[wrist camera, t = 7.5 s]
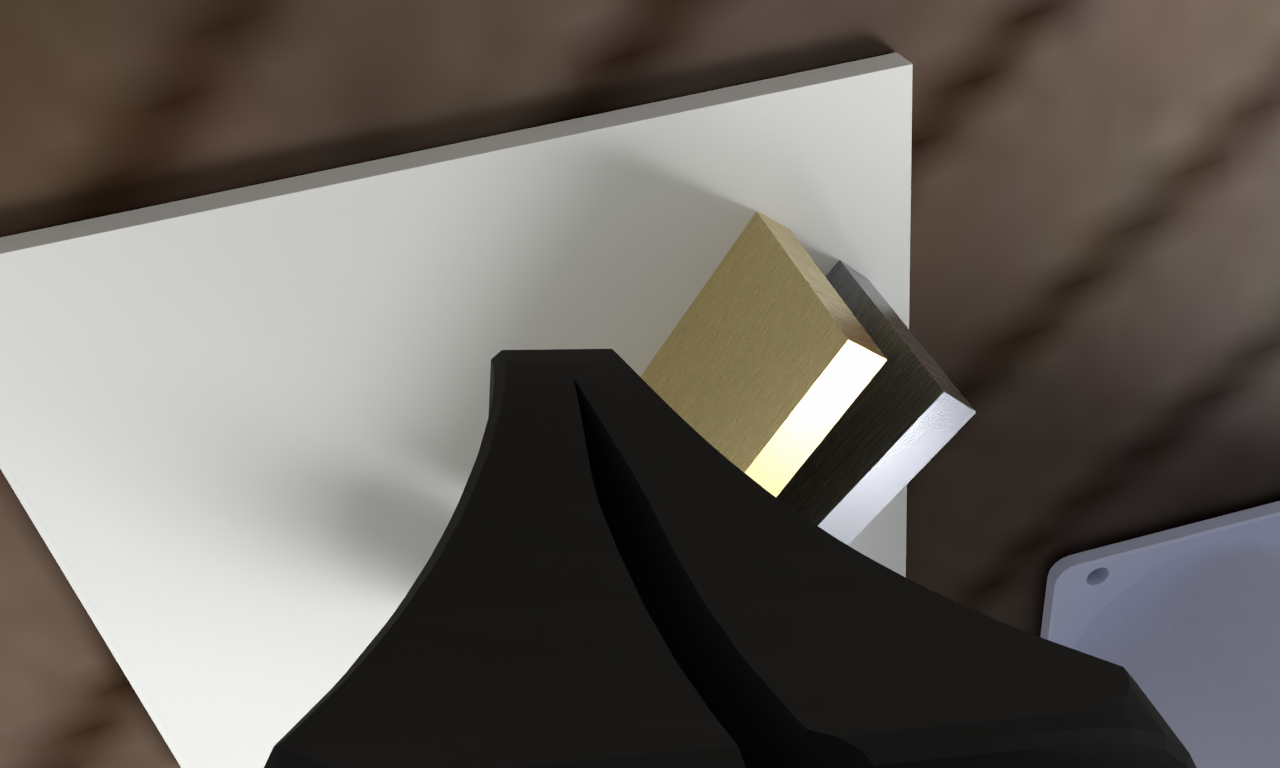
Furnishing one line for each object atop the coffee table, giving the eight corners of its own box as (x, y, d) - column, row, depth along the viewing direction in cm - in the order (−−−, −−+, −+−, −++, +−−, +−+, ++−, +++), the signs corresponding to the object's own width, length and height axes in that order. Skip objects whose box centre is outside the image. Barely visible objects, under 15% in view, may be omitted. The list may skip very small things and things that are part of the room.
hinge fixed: (869, 277, 19) (1016, 458, 14) (555, 659, 22) (602, 893, 18) (759, 209, 17) (884, 384, 13) (446, 624, 21) (468, 865, 17)
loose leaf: (568, 536, 20) (609, 705, 17) (535, 524, 20) (570, 694, 17) (790, 230, 18) (886, 359, 15) (757, 210, 17) (848, 339, 14)
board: (896, 52, 17) (912, 63, 17) (894, 591, 24) (905, 611, 24) (-101, 258, 16) (-116, 278, 15) (201, 770, 23) (197, 795, 22)
